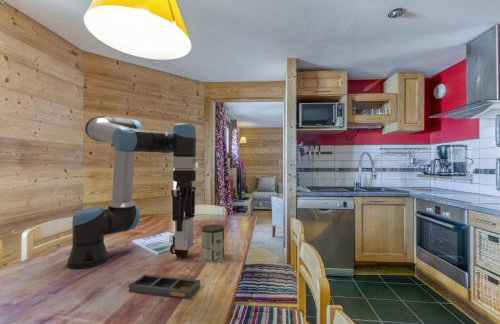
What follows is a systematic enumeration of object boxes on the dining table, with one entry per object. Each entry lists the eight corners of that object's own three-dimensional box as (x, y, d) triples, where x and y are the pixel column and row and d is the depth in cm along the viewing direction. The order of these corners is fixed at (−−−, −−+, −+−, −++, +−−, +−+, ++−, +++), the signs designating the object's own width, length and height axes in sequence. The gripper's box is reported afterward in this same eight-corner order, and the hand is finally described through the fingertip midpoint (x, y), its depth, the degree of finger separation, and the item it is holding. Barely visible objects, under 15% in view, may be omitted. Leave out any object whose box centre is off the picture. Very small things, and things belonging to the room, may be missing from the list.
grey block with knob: (174, 249, 84) (174, 218, 84) (181, 244, 88) (181, 216, 88) (187, 250, 83) (187, 219, 83) (193, 245, 87) (193, 216, 87)
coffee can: (209, 252, 123) (209, 223, 123) (228, 256, 118) (228, 226, 118) (196, 260, 113) (197, 228, 113) (216, 264, 109) (216, 231, 109)
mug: (179, 263, 110) (179, 240, 110) (164, 260, 113) (165, 238, 113) (194, 255, 119) (194, 234, 119) (180, 252, 123) (180, 232, 123)
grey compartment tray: (128, 292, 85) (128, 285, 85) (144, 281, 93) (144, 274, 93) (189, 300, 80) (189, 292, 80) (200, 287, 89) (200, 280, 89)
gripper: (182, 170, 76) (182, 247, 76) (204, 169, 93) (204, 231, 93) (160, 170, 78) (159, 245, 78) (185, 168, 95) (185, 230, 95)
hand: (184, 238), depth 85 cm, fingers closed on grey block with knob, 4 cm apart
